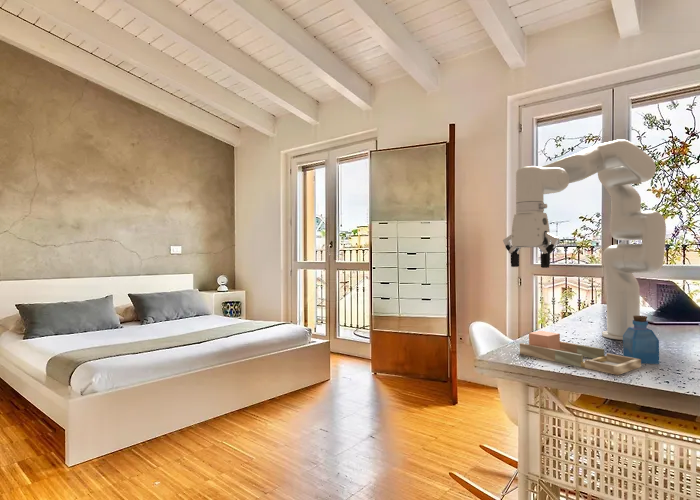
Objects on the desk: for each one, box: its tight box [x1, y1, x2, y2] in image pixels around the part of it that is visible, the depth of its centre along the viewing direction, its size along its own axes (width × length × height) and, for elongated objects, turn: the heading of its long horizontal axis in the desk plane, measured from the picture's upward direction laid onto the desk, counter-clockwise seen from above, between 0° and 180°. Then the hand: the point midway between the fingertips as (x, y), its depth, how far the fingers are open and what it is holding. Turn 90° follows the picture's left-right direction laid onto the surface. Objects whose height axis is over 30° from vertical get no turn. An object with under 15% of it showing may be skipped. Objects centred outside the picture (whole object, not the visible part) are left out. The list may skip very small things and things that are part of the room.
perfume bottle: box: [622, 315, 660, 365], centre depth 117 cm, size 6×6×12 cm
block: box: [528, 330, 561, 350], centre depth 127 cm, size 6×6×6 cm
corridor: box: [519, 340, 642, 376], centre depth 119 cm, size 12×27×3 cm, turn 33°
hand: (529, 267), depth 127 cm, fingers open, 9 cm apart
